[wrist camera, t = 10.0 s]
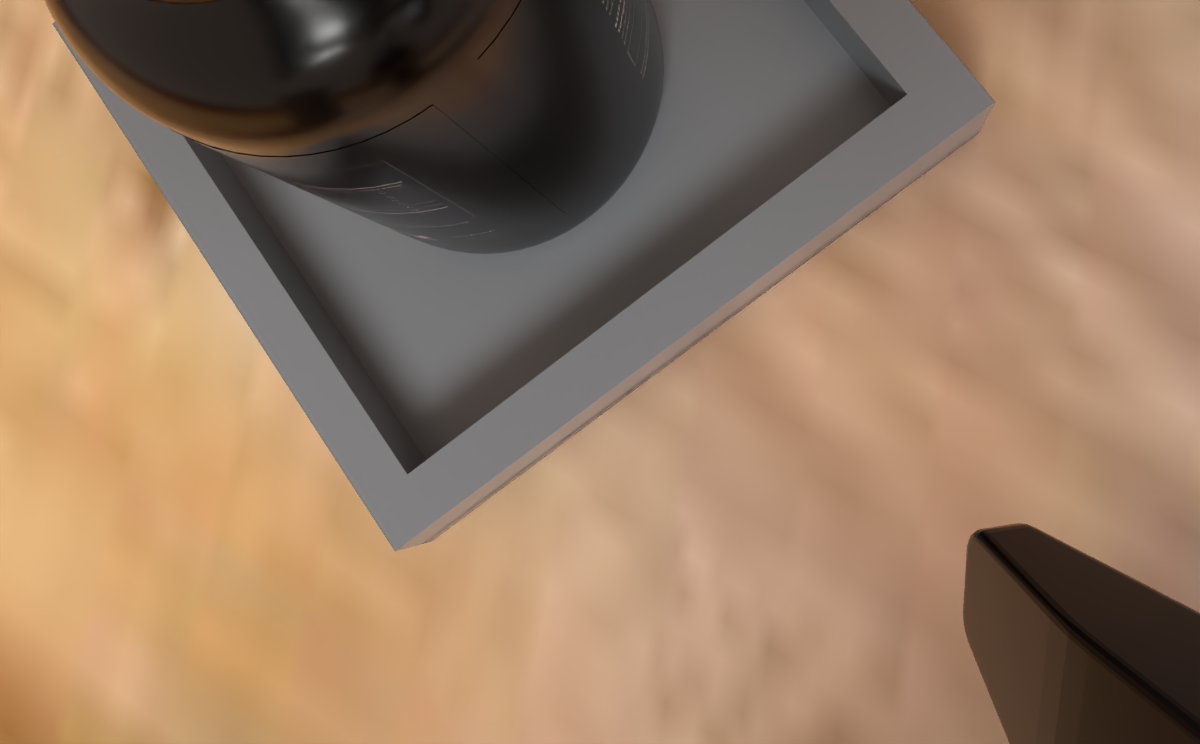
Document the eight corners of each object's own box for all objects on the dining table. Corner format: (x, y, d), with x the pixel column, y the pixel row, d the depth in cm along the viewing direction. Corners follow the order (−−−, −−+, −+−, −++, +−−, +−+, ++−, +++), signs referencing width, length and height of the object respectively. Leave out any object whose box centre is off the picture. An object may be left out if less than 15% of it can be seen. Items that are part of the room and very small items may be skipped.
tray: (978, 133, 18) (995, 101, 17) (431, 541, 20) (395, 551, 18) (573, -348, 21) (551, -421, 19) (112, 55, 22) (53, 23, 21)
